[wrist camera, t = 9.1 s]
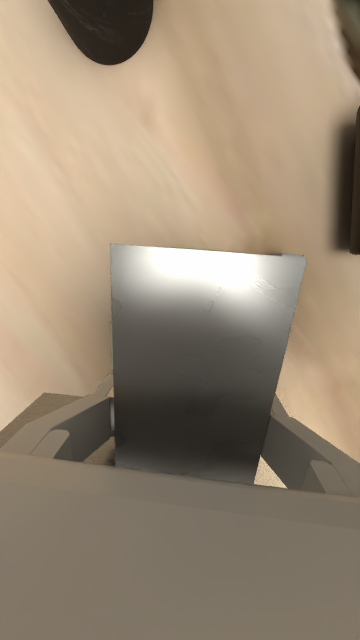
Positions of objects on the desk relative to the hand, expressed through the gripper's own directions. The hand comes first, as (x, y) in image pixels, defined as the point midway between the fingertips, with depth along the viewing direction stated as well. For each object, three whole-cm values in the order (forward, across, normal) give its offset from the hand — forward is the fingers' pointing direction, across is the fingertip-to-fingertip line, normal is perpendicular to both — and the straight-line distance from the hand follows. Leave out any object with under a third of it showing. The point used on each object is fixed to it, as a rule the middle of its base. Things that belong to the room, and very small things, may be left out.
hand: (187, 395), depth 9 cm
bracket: (+2, +3, 0) cm, 3 cm away
